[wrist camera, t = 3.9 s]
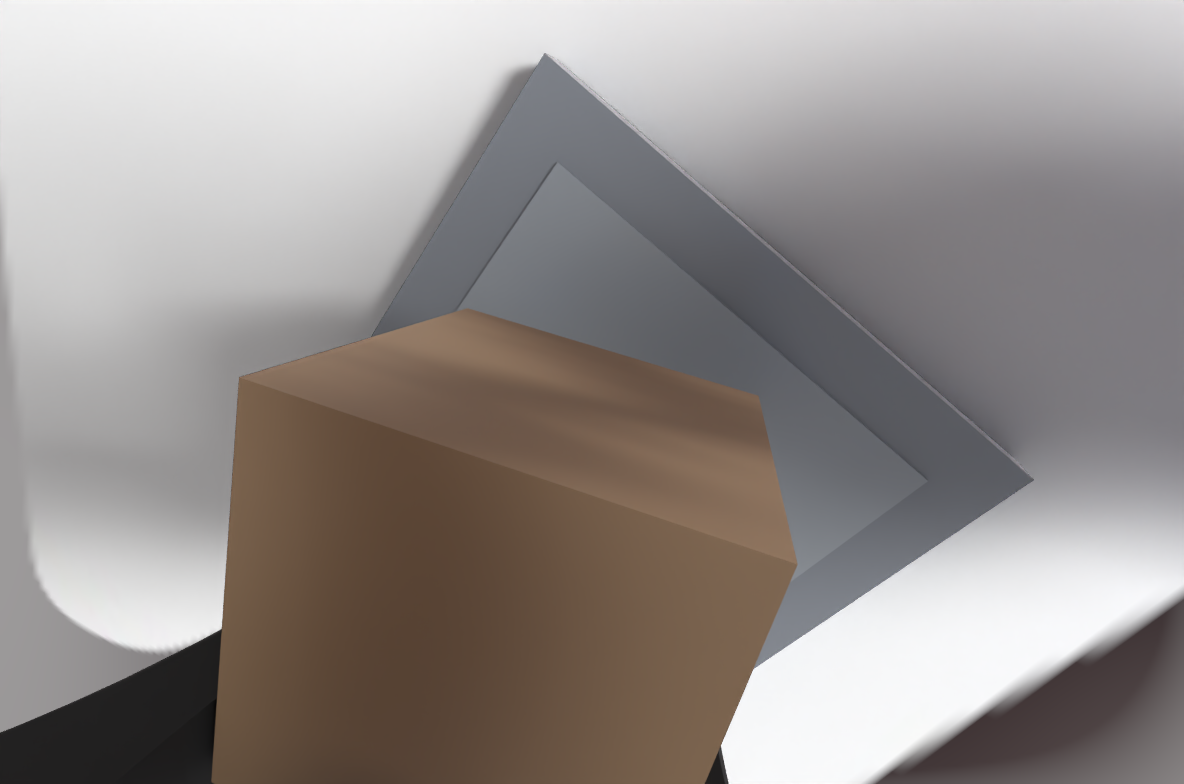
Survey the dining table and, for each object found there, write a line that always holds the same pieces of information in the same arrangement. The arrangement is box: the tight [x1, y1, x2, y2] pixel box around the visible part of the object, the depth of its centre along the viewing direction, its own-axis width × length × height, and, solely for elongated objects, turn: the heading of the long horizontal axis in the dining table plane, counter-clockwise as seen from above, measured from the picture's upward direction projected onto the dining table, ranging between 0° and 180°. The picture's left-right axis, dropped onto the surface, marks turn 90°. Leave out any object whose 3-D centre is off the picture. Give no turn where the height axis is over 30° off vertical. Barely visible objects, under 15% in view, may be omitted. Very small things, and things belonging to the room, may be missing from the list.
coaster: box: [371, 53, 1034, 668], centre depth 16 cm, size 14×14×1 cm
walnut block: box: [211, 308, 798, 784], centre depth 8 cm, size 5×5×5 cm
